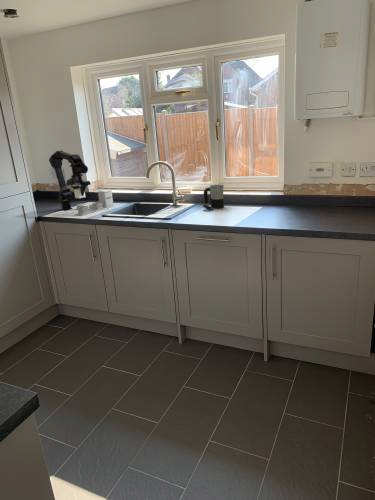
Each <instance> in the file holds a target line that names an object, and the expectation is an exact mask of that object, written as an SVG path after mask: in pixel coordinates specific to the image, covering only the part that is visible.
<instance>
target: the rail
mask: <svg viewBox="0 0 375 500" xmlns="http://www.w3.org/2000/svg"><path fill="white" fill-rule="evenodd" d="M91 204H92V205H93V209H89V205H84V206H80V207H78V210H77V211H78V212H76V216H81V217H82V216H86V215H90V214H93V213H96V212H101V211H103V210H106V209H105V207H103V204H102V202H99V201H94V202H93V203H91Z"/></svg>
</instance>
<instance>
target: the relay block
mask: <svg viewBox="0 0 375 500" xmlns="http://www.w3.org/2000/svg"><path fill="white" fill-rule="evenodd" d="M80 206H85V204H84V203H78V204H76V210H77V211H78V207H80Z"/></svg>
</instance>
